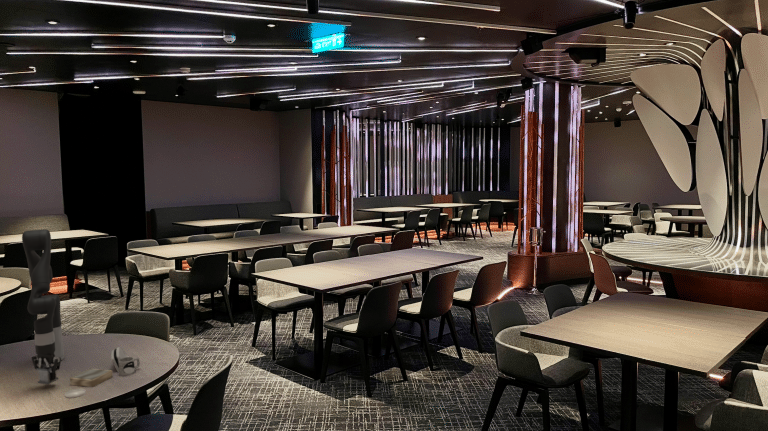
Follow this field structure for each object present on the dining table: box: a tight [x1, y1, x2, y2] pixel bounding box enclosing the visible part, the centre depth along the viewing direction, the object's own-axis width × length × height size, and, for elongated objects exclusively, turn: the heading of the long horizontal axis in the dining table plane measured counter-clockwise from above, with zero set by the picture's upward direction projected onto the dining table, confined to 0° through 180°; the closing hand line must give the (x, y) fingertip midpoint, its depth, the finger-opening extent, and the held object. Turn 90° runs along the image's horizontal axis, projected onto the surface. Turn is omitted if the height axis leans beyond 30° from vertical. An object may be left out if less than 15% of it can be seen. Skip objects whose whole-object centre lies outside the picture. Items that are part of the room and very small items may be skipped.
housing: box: [36, 364, 59, 385], centre depth 249 cm, size 6×6×7 cm
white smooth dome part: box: [64, 387, 87, 399], centre depth 241 cm, size 8×8×1 cm
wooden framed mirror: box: [69, 368, 114, 388], centre depth 255 cm, size 12×12×3 cm
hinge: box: [110, 346, 131, 373], centre depth 273 cm, size 17×5×10 cm, turn 21°
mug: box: [118, 356, 141, 377], centre depth 265 cm, size 10×7×7 cm, turn 148°
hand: (48, 379), depth 249 cm, fingers closed on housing, 4 cm apart
